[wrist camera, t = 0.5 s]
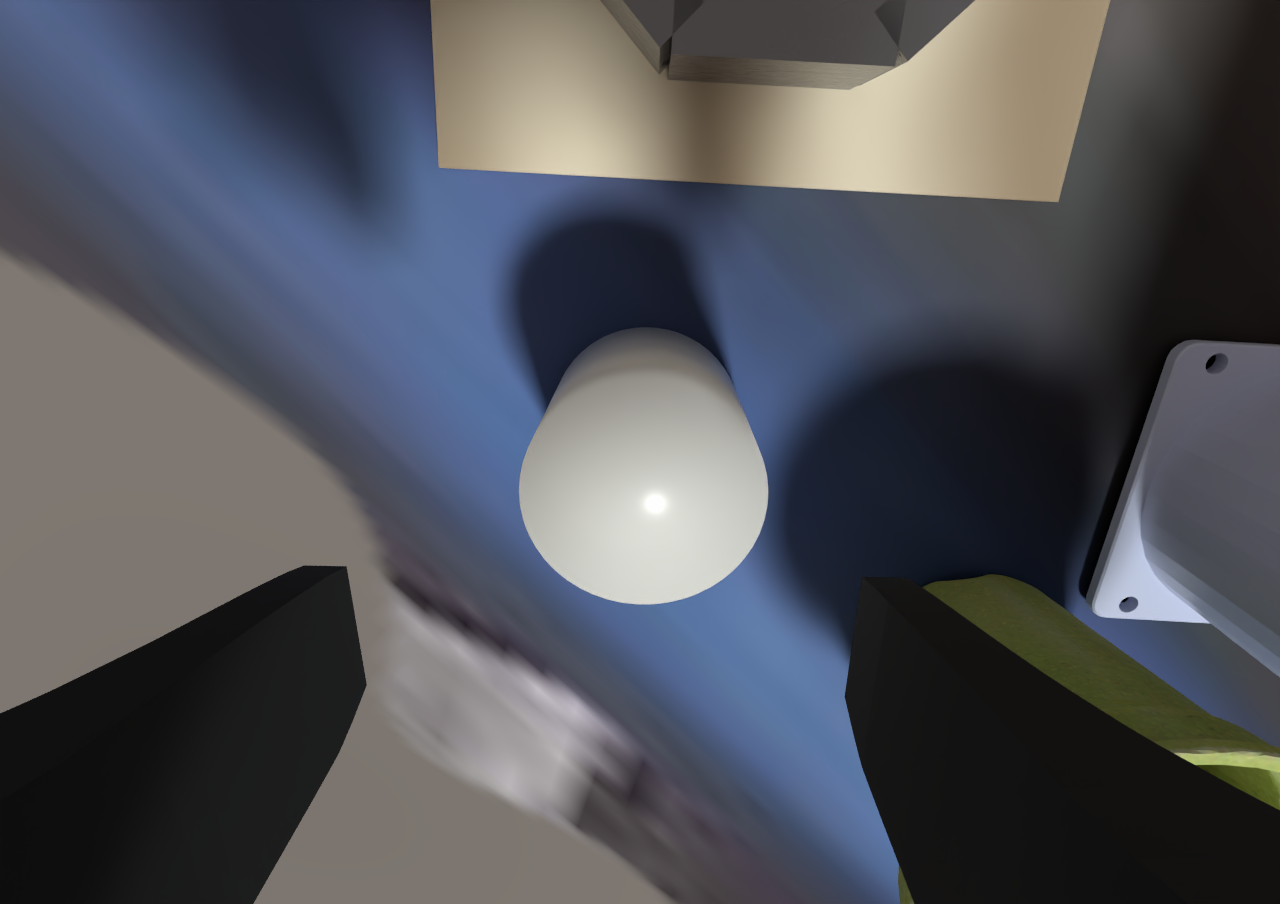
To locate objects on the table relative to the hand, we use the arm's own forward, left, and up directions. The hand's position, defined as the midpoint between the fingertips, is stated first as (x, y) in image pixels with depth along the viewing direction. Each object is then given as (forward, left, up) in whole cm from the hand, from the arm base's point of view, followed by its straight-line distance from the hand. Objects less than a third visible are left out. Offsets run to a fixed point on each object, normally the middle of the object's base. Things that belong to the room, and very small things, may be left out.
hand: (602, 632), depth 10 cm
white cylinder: (0, 0, -9) cm, 9 cm away
